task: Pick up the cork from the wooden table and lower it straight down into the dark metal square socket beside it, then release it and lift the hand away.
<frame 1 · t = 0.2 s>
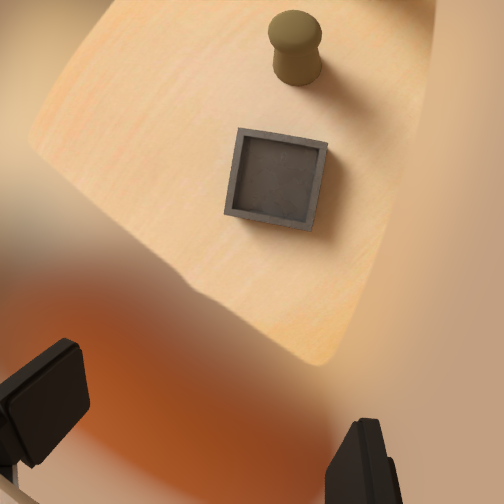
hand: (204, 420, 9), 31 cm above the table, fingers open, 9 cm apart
cork: (297, 65, 33), on the table
socket: (277, 178, 37), on the table
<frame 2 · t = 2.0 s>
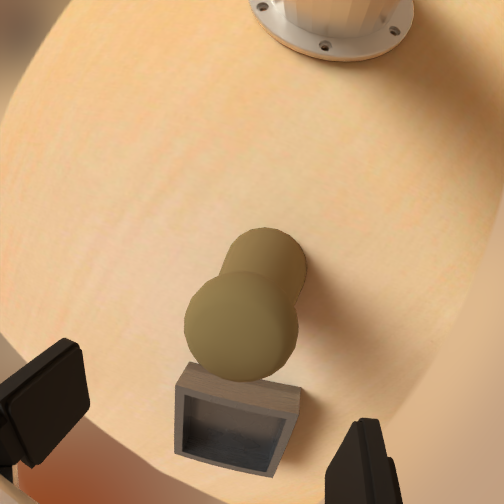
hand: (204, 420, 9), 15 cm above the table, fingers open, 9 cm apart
cork: (265, 267, 23), on the table
socket: (236, 413, 27), on the table
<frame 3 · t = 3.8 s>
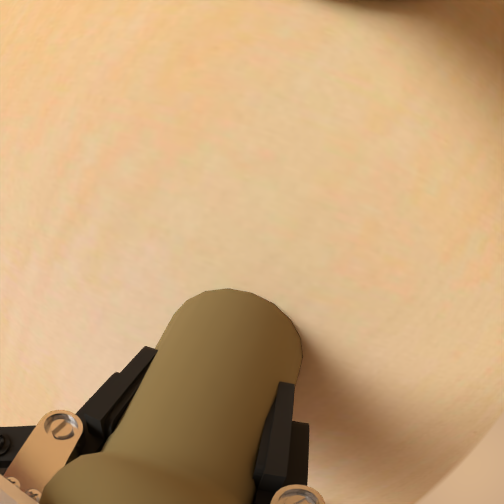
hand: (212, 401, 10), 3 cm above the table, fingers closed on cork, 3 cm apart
cork: (233, 351, 13), on the table, touching gripper
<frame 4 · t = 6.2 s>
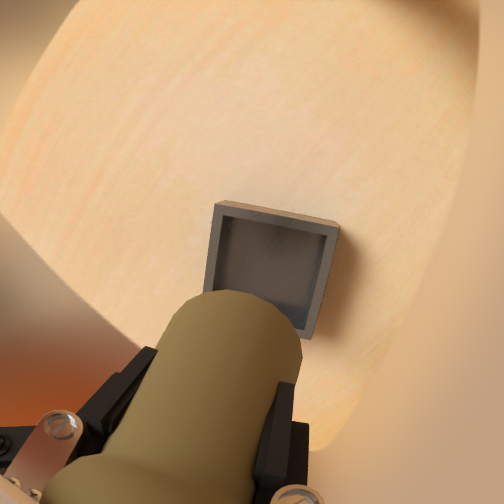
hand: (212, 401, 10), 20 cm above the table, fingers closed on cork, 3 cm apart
cork: (232, 352, 13), point 16 cm above the table, touching gripper
socket: (269, 263, 29), on the table
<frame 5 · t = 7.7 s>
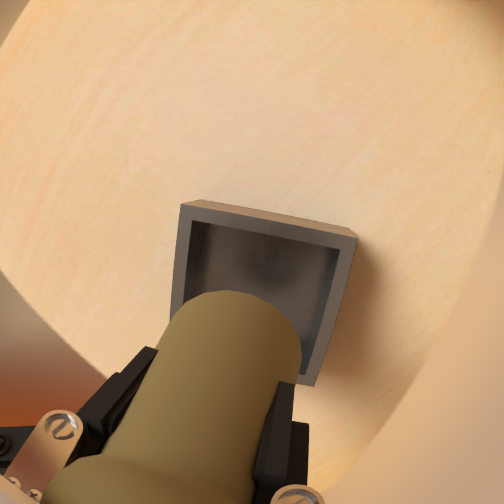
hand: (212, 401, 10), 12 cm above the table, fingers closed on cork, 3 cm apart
cork: (232, 352, 13), point 9 cm above the table, touching gripper
socket: (260, 284, 21), on the table
when the fingers open (6 cm above the table, at t = 9.1 s): cork drops 1 cm, resting on socket.
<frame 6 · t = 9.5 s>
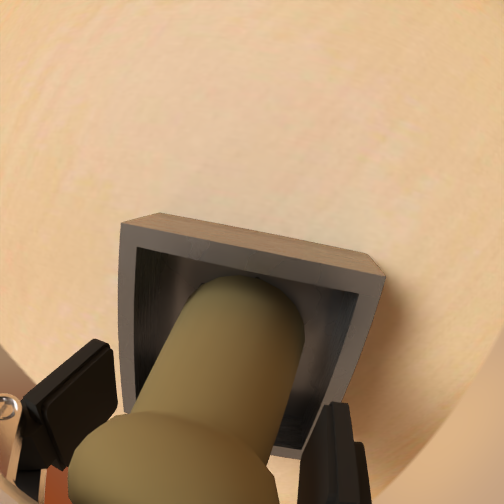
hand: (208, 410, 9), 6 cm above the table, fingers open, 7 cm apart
cork: (241, 334, 14), point 1 cm above the table, touching socket
socket: (242, 329, 15), on the table
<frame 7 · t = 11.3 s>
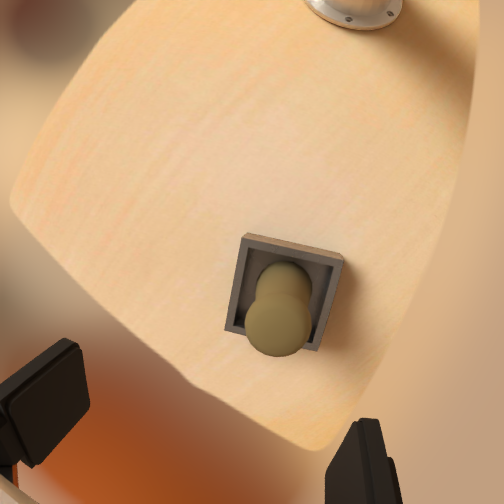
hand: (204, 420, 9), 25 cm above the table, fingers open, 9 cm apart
cork: (284, 288, 33), point 1 cm above the table, touching socket
socket: (283, 287, 34), on the table
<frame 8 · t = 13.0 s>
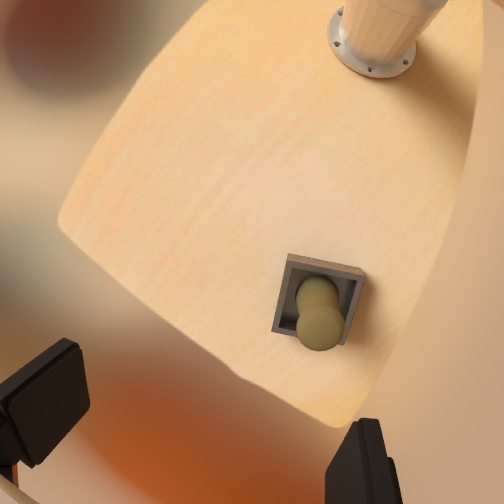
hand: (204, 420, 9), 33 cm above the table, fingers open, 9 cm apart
cork: (317, 296, 41), point 1 cm above the table, touching socket
socket: (316, 295, 42), on the table
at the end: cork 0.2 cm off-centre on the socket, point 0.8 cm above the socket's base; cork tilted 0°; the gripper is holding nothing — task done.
